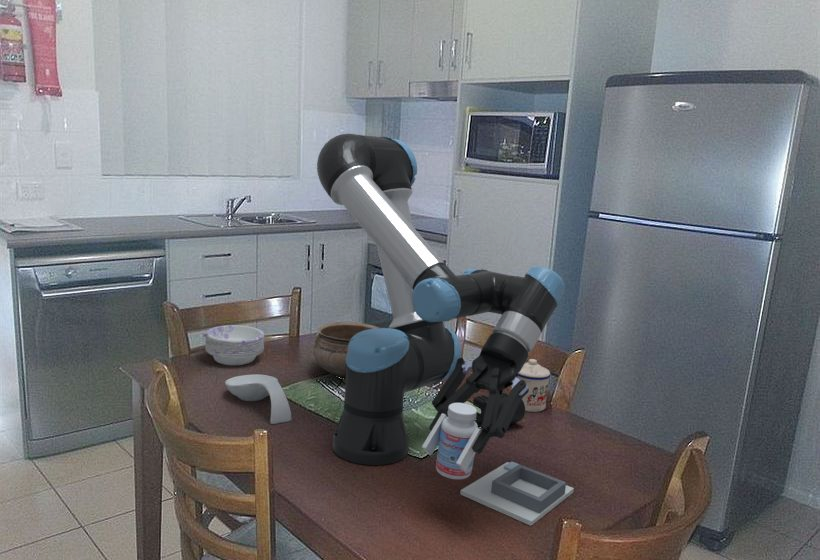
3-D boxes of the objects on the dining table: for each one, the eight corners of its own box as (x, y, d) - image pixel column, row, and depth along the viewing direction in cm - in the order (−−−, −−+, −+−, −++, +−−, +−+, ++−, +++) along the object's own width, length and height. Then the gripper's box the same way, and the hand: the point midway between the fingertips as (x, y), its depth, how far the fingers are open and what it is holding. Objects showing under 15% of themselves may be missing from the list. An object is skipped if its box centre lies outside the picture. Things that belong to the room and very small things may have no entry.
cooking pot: (408, 381, 173) (411, 336, 171) (356, 397, 159) (359, 348, 157) (341, 357, 189) (344, 315, 187) (289, 370, 175) (291, 325, 173)
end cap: (490, 435, 144) (493, 405, 142) (469, 423, 149) (472, 394, 148) (524, 427, 149) (527, 399, 148) (502, 416, 155) (505, 388, 154)
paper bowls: (256, 371, 172) (257, 342, 171) (197, 367, 172) (197, 337, 171) (268, 354, 187) (270, 327, 186) (214, 350, 187) (215, 322, 186)
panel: (460, 494, 117) (461, 478, 117) (506, 465, 130) (508, 451, 129) (530, 526, 109) (532, 509, 108) (573, 492, 121) (575, 477, 121)
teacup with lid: (529, 415, 157) (534, 368, 154) (501, 402, 164) (506, 357, 161) (561, 406, 164) (567, 361, 162) (533, 394, 171) (538, 351, 169)
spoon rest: (217, 391, 157) (218, 362, 156) (264, 385, 164) (265, 357, 162) (256, 429, 138) (257, 396, 137) (307, 420, 145) (309, 388, 143)
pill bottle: (430, 474, 108) (438, 410, 106) (442, 458, 114) (450, 397, 111) (466, 484, 106) (475, 419, 104) (476, 468, 112) (485, 406, 109)
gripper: (564, 371, 113) (500, 492, 103) (471, 340, 124) (406, 447, 115) (555, 347, 107) (486, 473, 98) (458, 317, 119) (389, 427, 110)
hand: (443, 458), depth 107 cm, fingers closed on pill bottle, 6 cm apart
